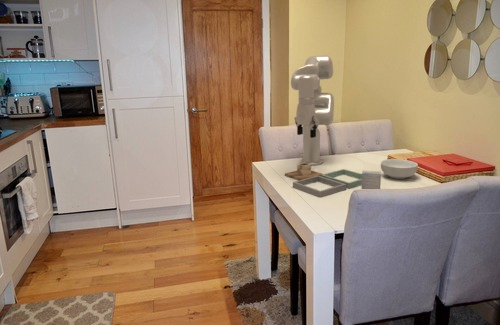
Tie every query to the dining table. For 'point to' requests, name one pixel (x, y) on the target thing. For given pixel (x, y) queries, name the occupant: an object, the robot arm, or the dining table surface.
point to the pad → (301, 177)
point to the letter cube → (304, 169)
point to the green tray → (345, 172)
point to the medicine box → (371, 179)
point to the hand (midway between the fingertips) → (306, 135)
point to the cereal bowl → (399, 168)
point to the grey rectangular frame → (336, 188)
